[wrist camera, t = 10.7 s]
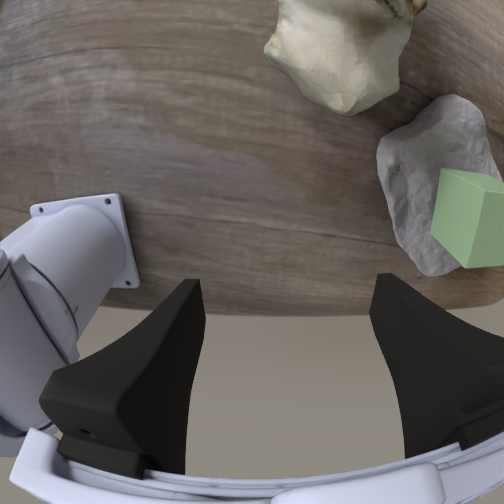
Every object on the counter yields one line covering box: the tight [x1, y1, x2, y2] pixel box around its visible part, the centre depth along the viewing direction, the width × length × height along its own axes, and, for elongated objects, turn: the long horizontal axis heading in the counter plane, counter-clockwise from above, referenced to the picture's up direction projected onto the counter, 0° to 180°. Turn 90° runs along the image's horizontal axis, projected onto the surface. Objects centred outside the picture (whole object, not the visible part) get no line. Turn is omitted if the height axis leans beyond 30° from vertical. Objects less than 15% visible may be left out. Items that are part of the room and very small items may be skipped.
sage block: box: [430, 168, 504, 269], centre depth 14 cm, size 4×4×4 cm
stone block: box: [376, 94, 503, 276], centre depth 18 cm, size 12×5×10 cm
